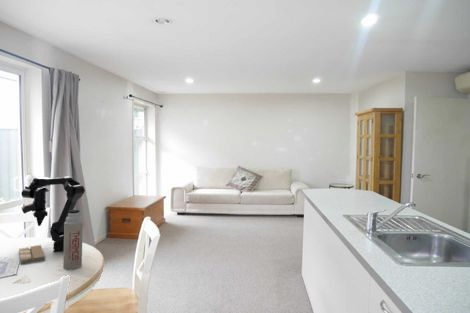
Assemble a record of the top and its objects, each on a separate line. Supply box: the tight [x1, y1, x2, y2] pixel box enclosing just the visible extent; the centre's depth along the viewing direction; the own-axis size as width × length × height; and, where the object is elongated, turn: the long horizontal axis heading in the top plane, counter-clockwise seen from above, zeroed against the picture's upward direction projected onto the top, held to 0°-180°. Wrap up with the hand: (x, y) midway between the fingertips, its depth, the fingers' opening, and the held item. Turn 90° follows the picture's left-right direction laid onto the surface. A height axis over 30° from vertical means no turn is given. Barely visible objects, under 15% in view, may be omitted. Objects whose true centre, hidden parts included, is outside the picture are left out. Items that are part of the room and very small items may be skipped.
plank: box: [18, 246, 32, 262], centre depth 152 cm, size 19×4×1 cm, turn 39°
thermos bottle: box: [62, 209, 84, 271], centre depth 143 cm, size 8×8×28 cm
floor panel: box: [18, 244, 46, 265], centre depth 154 cm, size 20×10×2 cm, turn 38°
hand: (39, 225), depth 169 cm, fingers closed
